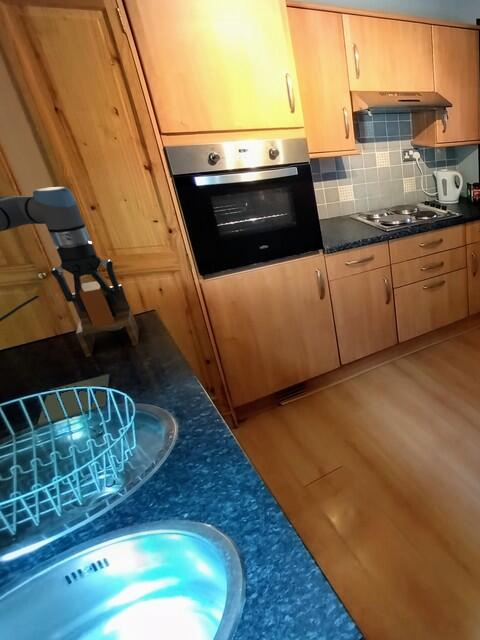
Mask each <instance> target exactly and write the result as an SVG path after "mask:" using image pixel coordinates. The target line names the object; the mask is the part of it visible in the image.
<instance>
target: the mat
mask: <svg viewBox="0 0 480 640" xmlns="http://www.w3.org/2000/svg"><path fill="white" fill-rule="evenodd" d="M109 381H110V374H103V375H100V376H97V377H92V378H88V379H85V380H81V381H77V382H74V383H73V382H72V383H69V384H65V385H61V386H58V387H53V388H50V389H49V390H54V389H59V388H66V387H74V386H106V387H108V388H109ZM61 398H62V401H63V403H64V406H65V408H66V411H67V414H68V416H69V417H73V416H76V415H79V414H81V413H80V412H81V411H80V409H79V406H78V403H77V400H76V397H75V392H74V391H68V392H64V393H61ZM79 398H80V400H81V404H82V411H83V413H86V412H89V411H88V395H87V392H85V391H80V392H79ZM95 398H96V399H97V401H98V403H99V406H100V408H103V407H106V405H107V398H106V393H105V392H102V391H96V394H95ZM44 404H45V406H46V409H47V411H48V414H49V416H50V418H51V420H52V421H53V422H56V421H59V420H63V419H65V418H64V414H63V411H62V409H61V407H60V404H59V402H58V400H57V396H56V394H52V395H47V394H46V397H45V399H44V403H43V405H44ZM91 409H92V410H91V411H93V410H97V409H98V408H97V407H96V404H95V402H93V403H92V407H91ZM69 417H68V418H69ZM46 424H48V423H47V419H46V418H45V415H44V412H43V411H42V410H41V412H40V416H39V419H38V421H37V425H38V426H42V425H46Z"/></svg>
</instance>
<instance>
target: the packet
mask: <svg viewBox="0 0 480 640" xmlns="http://www.w3.org/2000/svg"><path fill="white" fill-rule="evenodd" d="M79 293H80V296H81V298H82V300H83V303H84V305H85V308H86V310H87V312H88V315H89V317H90V319H91V322H92V324H93V327H95V326H99V325H104V324H109V323H113V321H114V317H113V316H112V313H111V311H110V308H109V306H108V303H107V301H106V298H105V297H106V295H107V294H106V292H105V291H104V290H103V289H102V287H101V286H100V285H99V283H98V282H97V281H96V280H95V281H90V282H89V281H88V282H84V283H83V282H82V283H81V289H80V292H79Z"/></svg>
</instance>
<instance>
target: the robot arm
mask: <svg viewBox="0 0 480 640" xmlns="http://www.w3.org/2000/svg"><path fill="white" fill-rule="evenodd" d="M26 225H45V226H46V228H47V230H48V233H49V236H50V237H51V240H52V242H53V245H55V246H56V248H55V249H56V252H57V254H58V256H59V259H60V261H61V263H60V266H58V267H53V268H52V269H51V270H50V274H51V275H52V276H53V277H54V278H55V279H56V281H57V283H58V285H59V288H60V289H61V292H62V294H63V296H64V298H65V301H66V302H67V303H70V302H72V303H73V302H76V303H77V304H78V306H79V309H80V311H81V312H84V311H86V313H87V316H88V318H89V320H90V322H91V319H90V317H89V315H88V312H87V310H86V308H85V305H84V303H83V300H82V298H81V296H80V293H79V292H80V289H81V286H82V277H84V276H90V275H91V276H92V278H94V280H95V281H97V282H98V283H99V285H100V286H101V287H102V289H103V290H104V291H105V292H106V294H107V295H106V297H105V298H106V301H107V303H108V306H109V308H110V311H111V313H112V316H113V317H116V315H117V313H116V310H115V308H114V305H117V301H116V298H115V295H114V294H116V293H119V292H120V286H119V285H120V284H119V281H118V278H117V276H116V273H115V270H114V268H113V267H114V265H113V264H114V260H113V259H111V258H109V259H101V257H99V256H98V254H97V252H96V250H95V247H94V245H93V242H92V241H90V240H91V237H90V234H89V232H88V229H87V227H86V223H84V220H83V216H82V215H81V211H80V208H79V205H78V202H77V200H76V198H75V197H74V194H73V192H72V190H71V189H70V188H68V187H66V186H52V187H51V186H50V187H49V186H48V187H41V188H37V189H34V190H33V191H32V195H11V194H8V195H1V196H0V232H5V231H8V230H11V229H15V228H19V227H22V226H26ZM100 265H102V267H104V268H106V272H107V275H108V278H109V280H110V283H111V286H113V289H111V288H110V285H109V284H108V282H107V281H106V280H105V279H104V277H103V276H102V274H101V273H100V271H99V270H98V269H99V267H100ZM65 271H66V272H67V273H70V274H71V275H73V276H72V277H73V283H74V284H73V285H74V293H75V296H73V295H72V293H73V292H72V290H71V288H70V287H69V284H68V282H67V280H66V277H65V275H64V273H65ZM39 298H40V296H39V295H38V294H37V295H34V296H33V297H31V298H30V299H28V300H26V301H24V302H23V303H21V304H20V305H18V306H17V307H15V308H14V309H12V310H11V311H8V313H6V314H4V315H2V316H1V317H0V322H2V321H4V320H5V319H7V318H8V317H9V316H11V315H12V314H14V313H16V312H17V311H18V310H20V309H22V308H23V307H25V306H26V305H28V304H29V303H32V302H33V301H35V300H37V299H39Z"/></svg>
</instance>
